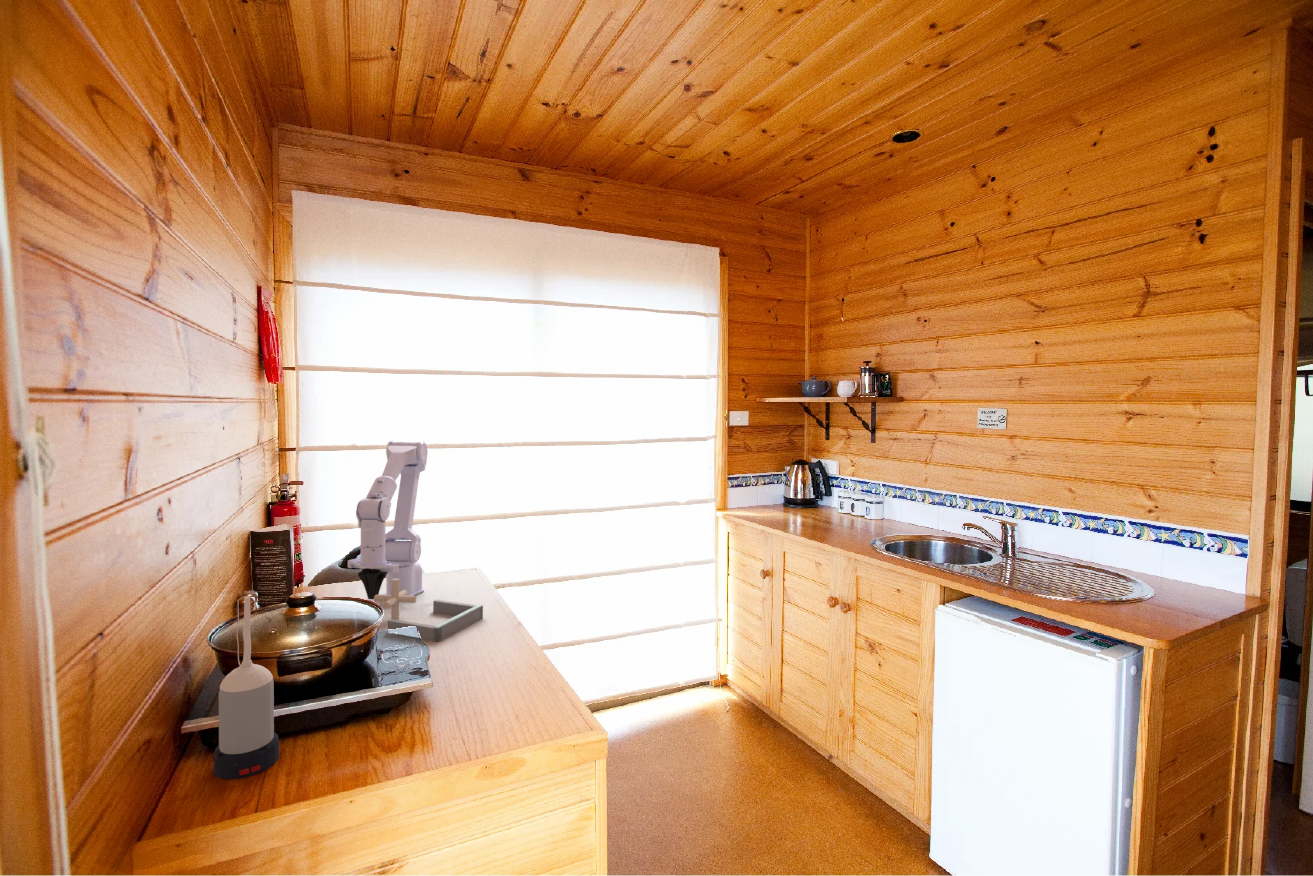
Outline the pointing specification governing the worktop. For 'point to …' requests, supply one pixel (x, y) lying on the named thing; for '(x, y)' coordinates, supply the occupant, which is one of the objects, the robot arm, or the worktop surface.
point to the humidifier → (246, 716)
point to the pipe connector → (395, 599)
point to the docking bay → (463, 618)
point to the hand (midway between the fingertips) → (372, 598)
